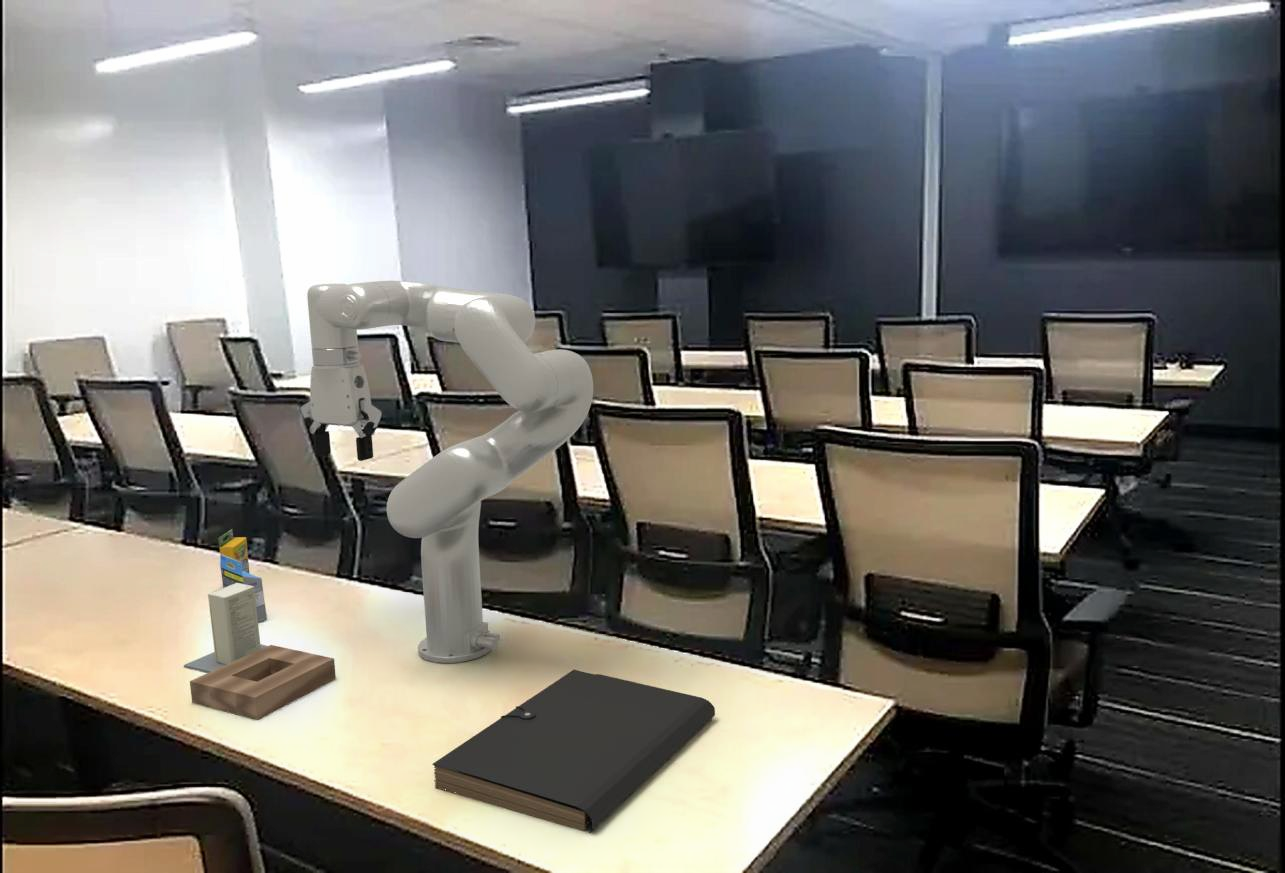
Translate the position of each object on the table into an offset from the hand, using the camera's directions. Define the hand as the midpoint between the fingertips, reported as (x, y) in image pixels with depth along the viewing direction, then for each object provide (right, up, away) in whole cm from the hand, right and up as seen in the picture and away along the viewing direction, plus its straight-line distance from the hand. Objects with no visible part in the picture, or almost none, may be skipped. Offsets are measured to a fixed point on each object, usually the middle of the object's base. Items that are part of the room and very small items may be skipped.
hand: (344, 457), depth 182 cm
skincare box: (-17, -34, -4) cm, 38 cm away
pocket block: (-8, -36, -16) cm, 40 cm away
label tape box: (-23, -31, +16) cm, 42 cm away
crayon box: (-31, -28, +34) cm, 54 cm away
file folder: (+43, -40, -39) cm, 70 cm away
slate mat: (-17, -34, -4) cm, 38 cm away
